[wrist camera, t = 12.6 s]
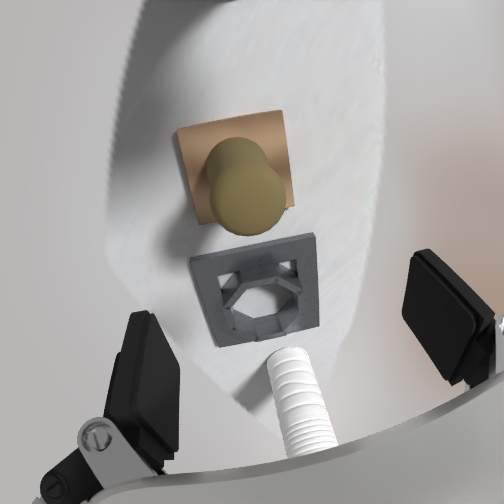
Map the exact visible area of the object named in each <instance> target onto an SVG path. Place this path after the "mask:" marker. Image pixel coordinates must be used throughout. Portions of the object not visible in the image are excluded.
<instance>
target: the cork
mask: <svg viewBox="0 0 504 504" xmlns="http://www.w3.org/2000/svg"><path fill="white" fill-rule="evenodd" d="M205 169H206V174H207V178H208V180H209V182H210V184H211V191H210V197H209V202H210V207H211V212H212V213H213V215H214V217H215V219H216V220H217V222H218V223H219V224H220V225H221V226H222V227H223V228H225V229H226V230H227V231H229V232H231V233H233V234H236V235H241V236H254V235H259V234H262V233H264V232H266V231H268V230H270V229H271V228H272V227H273V226H274V225H275V224H276V223H278V221H279V220H280V218H281V216H282V215H283V213H284V209H285V205H286V190H285V186H284V184H283V182H282V180H281V178H280V177H279V176H278V174H277V173H276V172H275V171H274V170H273V169H272V168H271V167H269V166H268V161H267V157H266V155H265V153H264V151H263V149H262V148H261V147H260V146H259V145H258V144H257V143H255V142H253V141H252V140H250V139H248V138H242V137H233V138H227V139H225V140H223V141H221V142H219V143H218V144H217V145H216V146H215V147H214V148H213V149H212V150H211V151H210V153H209V155H208V157H207V161H206V167H205Z"/></svg>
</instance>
